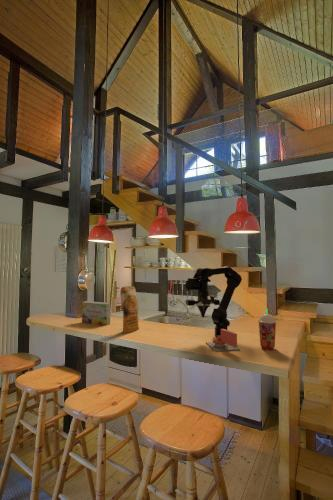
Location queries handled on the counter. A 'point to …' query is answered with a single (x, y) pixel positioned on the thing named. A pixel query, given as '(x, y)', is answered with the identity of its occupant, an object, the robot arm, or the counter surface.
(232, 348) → the grey base plate
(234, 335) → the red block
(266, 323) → the smoothie
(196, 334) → the counter surface
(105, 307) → the snack box
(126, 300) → the pancake mix bag
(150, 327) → the counter surface
